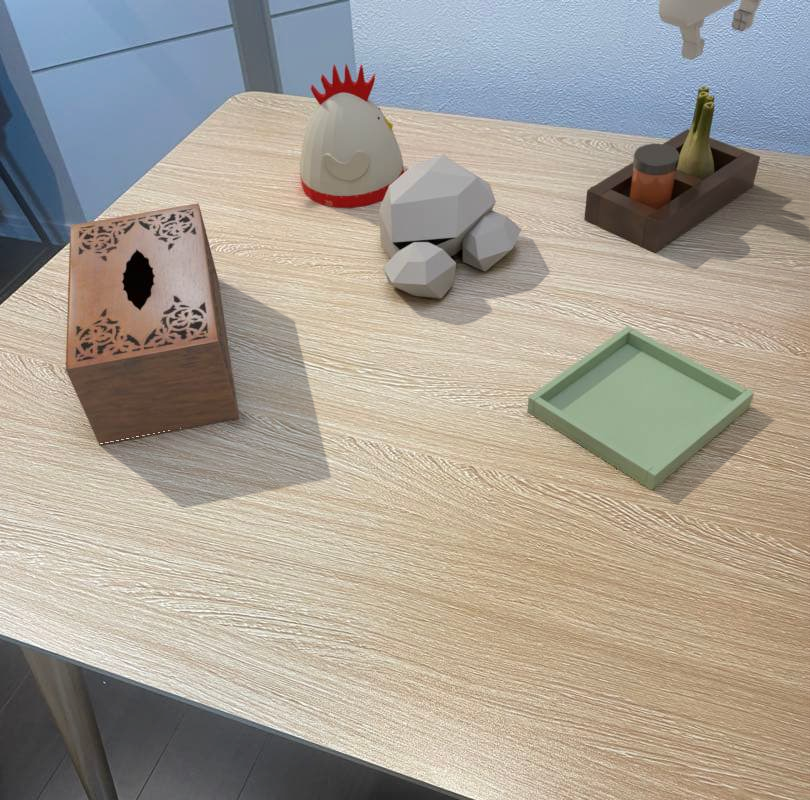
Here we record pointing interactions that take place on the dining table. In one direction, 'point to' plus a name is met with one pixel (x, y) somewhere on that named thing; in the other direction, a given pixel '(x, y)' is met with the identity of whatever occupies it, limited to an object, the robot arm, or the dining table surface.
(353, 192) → the kitchen timer
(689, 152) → the fennel bulb
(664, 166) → the spice jar
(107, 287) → the tissue box cover
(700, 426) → the tray
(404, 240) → the rock
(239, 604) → the dining table surface
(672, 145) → the rack
